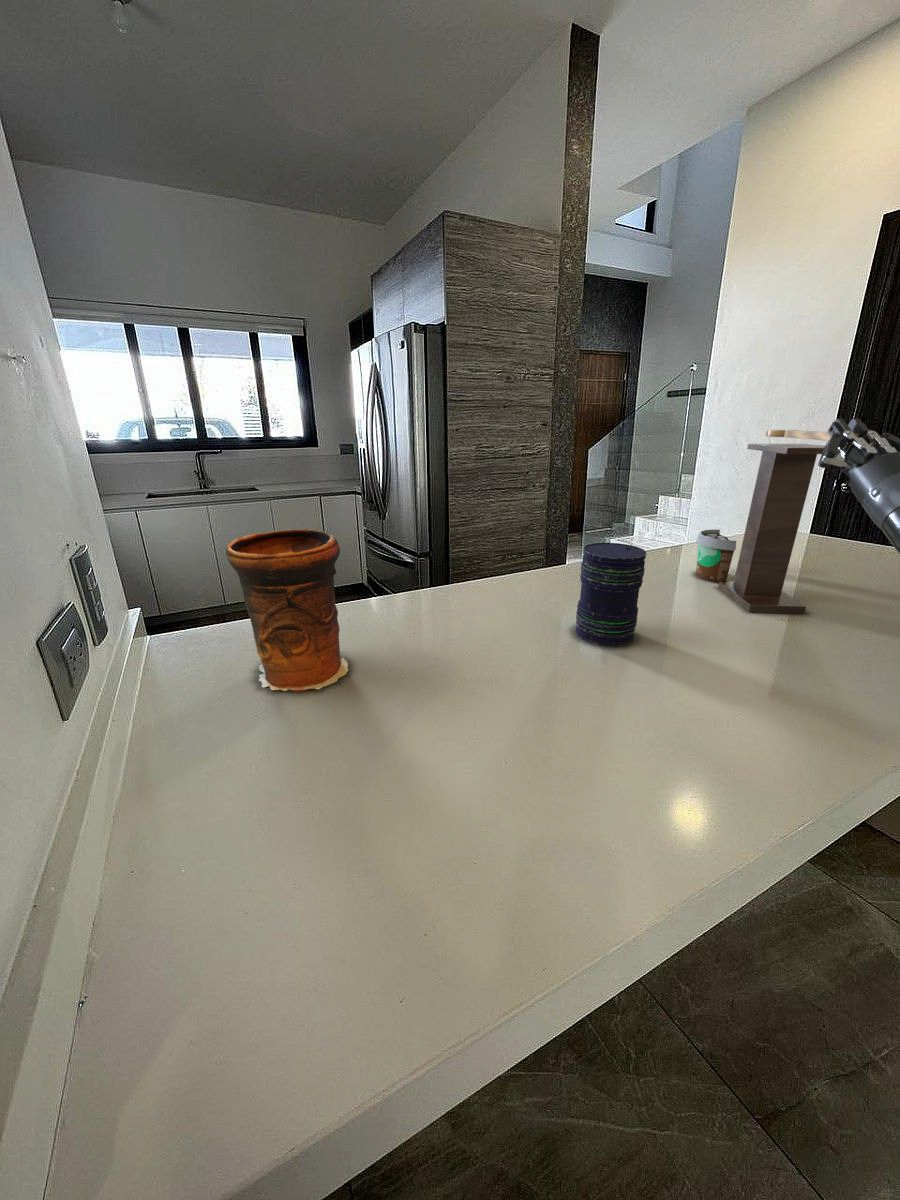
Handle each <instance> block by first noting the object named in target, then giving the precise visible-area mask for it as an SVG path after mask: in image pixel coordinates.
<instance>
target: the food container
mask: <svg viewBox="0 0 900 1200" xmlns="http://www.w3.org/2000/svg"><path fill="white" fill-rule="evenodd" d="M720 533H721V529H704V530H701V531H700V533H699V534H698V535H697V537H696V539H695V542H696V543H697V544H698V548H697V558H696V568H695V576H696V577H697V578H698V579H701V580H703V581H707V582H711V583H716V584H719V582H727V581H728V576H729V573H730V568H731V564H732V562H733V561H732V560H733V556H734V552H736V549H737V540H731V539H729V538H728V537H727V536H725V535H722V534H720Z"/></svg>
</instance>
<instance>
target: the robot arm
mask: <svg viewBox="0 0 900 1200" xmlns="http://www.w3.org/2000/svg"><path fill="white" fill-rule="evenodd" d="M827 432H828V433H829V434H830V435H831V438H830V440H829V441H827V443H826V444H825V445H824V446H825V447H824V450H823V452H822V454H820V458H819V461H818V464H817V466H818V467H819V468H822V469H826V468H828V466H829V465H832V466H836V467H839V469H840V471H841V472H842V473H843V474H845V475H847V476H848V477H849V484H850V489H851V492H852V493H853V495H854V496H855V498H856V499H857V501H858V502H859V503H860V505H861V506H862V508H863V509H864V510H865V512H866V514H867V515H868V517H869V518H870V519H871V521H872V522H873V523H874V524H875V525H876V526H877V527H878V528H879V529H880V530H881V531H882V532H883V534H884V535H885V536H886V538H887V539H888V541H889V542H890V544H891V545H892V547H893V548H894V549H895V551H896V552H897V553H898V555H900V438H899V437H897V436H895V435H893V433H890V432H883V433H882V434H879V433H878V432H877V431H875V430H871V429H870V428H868V426H867V425H866V424H865V423H864V422H863V421H862V420H861V419H860V418H852V419H850V421H849V423H848V424H847V423H846V421H845V420H844V419H843V418H835V419H834V421H832V423H831V424H830V426H829V428H828V430H827ZM854 433H856V434H859V436H858V438H857V437H856V436H855V434H854ZM891 444H892V445H893V446H892V445H891Z"/></svg>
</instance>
